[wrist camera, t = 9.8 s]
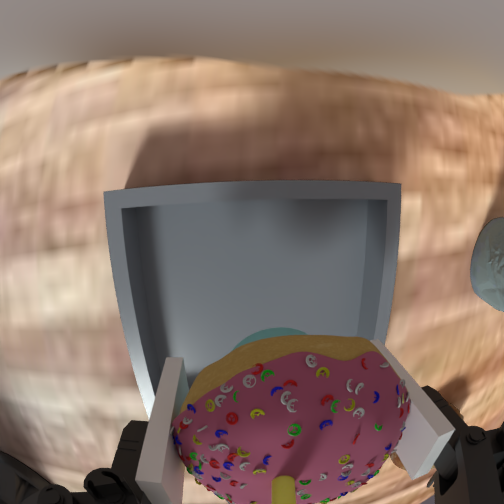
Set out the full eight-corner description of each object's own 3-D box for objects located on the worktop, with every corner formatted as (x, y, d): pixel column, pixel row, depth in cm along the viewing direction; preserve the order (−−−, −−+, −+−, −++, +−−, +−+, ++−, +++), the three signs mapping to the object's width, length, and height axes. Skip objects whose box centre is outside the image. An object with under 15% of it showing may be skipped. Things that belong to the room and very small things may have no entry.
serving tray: (158, 398, 22) (151, 427, 18) (123, 189, 18) (103, 191, 14) (354, 382, 23) (369, 407, 20) (374, 181, 19) (401, 183, 16)
